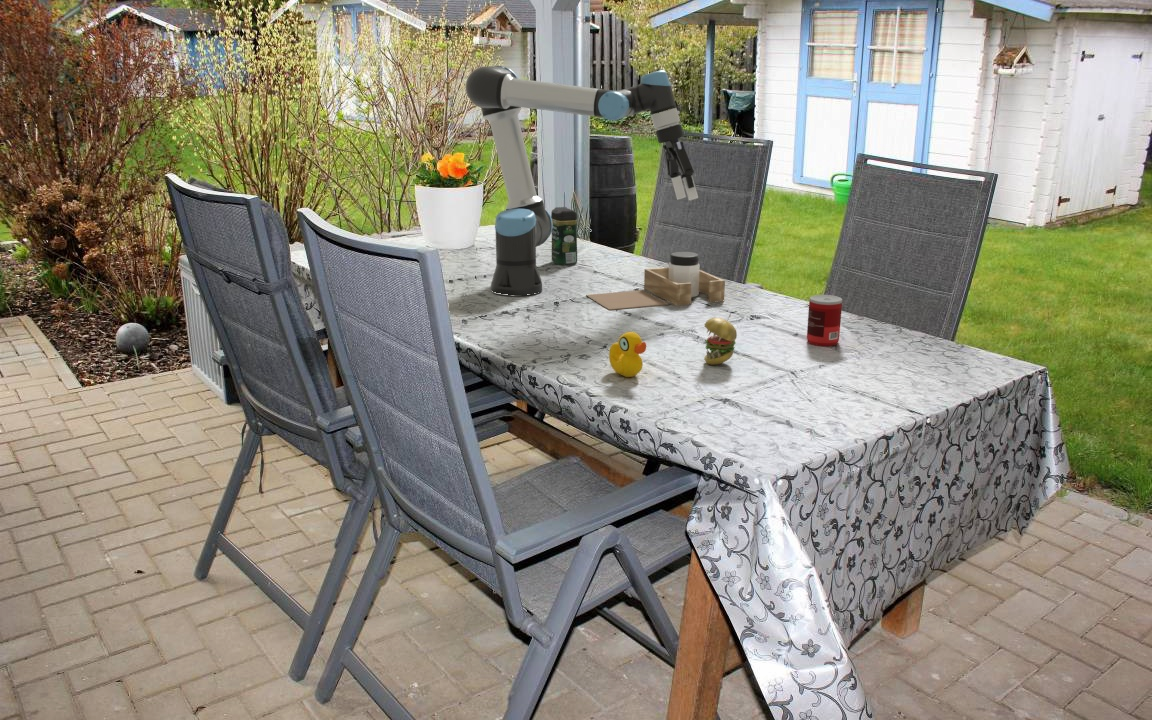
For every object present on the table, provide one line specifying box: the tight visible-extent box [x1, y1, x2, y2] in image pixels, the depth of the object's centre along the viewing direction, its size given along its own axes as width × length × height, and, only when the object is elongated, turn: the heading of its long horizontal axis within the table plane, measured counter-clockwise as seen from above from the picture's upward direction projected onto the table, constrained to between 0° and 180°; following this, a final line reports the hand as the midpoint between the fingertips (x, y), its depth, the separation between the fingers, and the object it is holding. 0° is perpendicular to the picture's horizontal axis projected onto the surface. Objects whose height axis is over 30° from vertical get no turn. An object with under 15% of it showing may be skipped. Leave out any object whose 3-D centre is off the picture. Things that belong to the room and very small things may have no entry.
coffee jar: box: [550, 206, 578, 266], centre depth 332 cm, size 10×8×19 cm
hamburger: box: [703, 312, 738, 366], centre depth 224 cm, size 8×7×12 cm
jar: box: [668, 251, 700, 298], centre depth 289 cm, size 9×8×12 cm
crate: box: [643, 266, 726, 307], centre depth 289 cm, size 15×22×6 cm
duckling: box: [608, 331, 647, 378], centre depth 216 cm, size 11×5×10 cm, turn 35°
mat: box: [585, 289, 670, 311], centre depth 284 cm, size 18×18×1 cm
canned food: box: [806, 294, 843, 347], centre depth 241 cm, size 8×8×11 cm
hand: (687, 199), depth 288 cm, fingers open, 13 cm apart
